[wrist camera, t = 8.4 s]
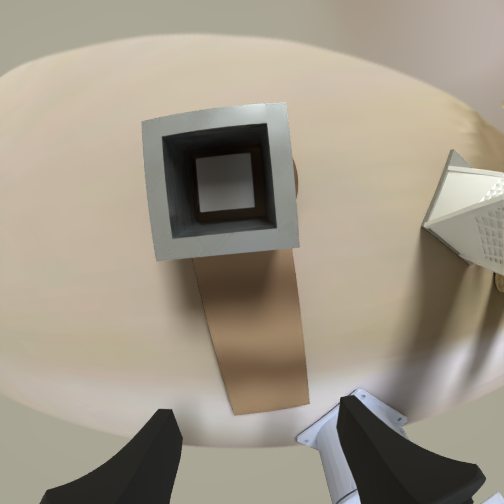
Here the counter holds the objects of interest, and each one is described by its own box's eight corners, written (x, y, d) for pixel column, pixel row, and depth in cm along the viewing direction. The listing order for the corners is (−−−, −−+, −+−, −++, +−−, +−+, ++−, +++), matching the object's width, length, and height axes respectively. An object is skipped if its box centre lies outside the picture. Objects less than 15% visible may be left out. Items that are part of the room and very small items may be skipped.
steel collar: (272, 132, 15) (286, 102, 9) (281, 227, 17) (299, 247, 11) (177, 143, 15) (141, 121, 10) (186, 236, 17) (156, 261, 11)
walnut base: (318, 389, 21) (330, 426, 17) (223, 404, 21) (219, 443, 17) (282, 114, 16) (292, 92, 12) (160, 138, 17) (134, 124, 12)
